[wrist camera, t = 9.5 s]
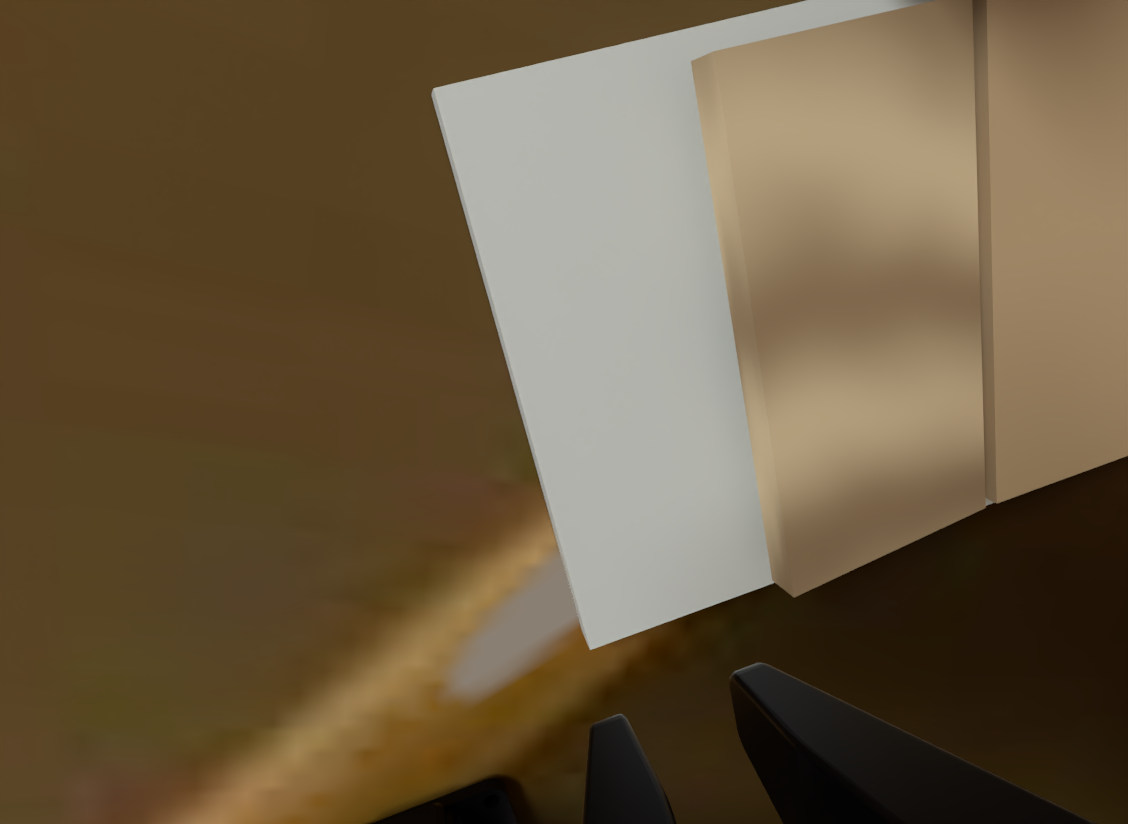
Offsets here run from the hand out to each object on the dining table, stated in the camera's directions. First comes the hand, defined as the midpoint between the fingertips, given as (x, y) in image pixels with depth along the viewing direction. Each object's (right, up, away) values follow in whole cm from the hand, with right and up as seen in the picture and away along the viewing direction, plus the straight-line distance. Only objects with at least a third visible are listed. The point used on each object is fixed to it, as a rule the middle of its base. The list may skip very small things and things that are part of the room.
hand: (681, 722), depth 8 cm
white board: (+7, +7, +12) cm, 15 cm away
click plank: (+6, +6, +11) cm, 14 cm away
